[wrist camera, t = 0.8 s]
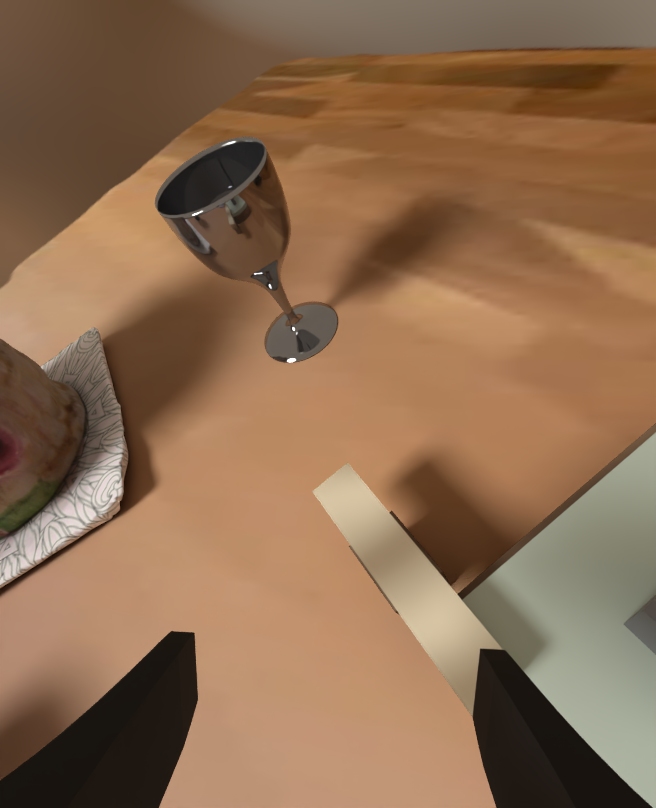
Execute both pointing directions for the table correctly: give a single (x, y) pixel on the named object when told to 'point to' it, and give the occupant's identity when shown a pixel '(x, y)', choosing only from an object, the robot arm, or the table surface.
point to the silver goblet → (244, 235)
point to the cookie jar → (56, 451)
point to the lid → (590, 616)
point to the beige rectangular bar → (409, 581)
